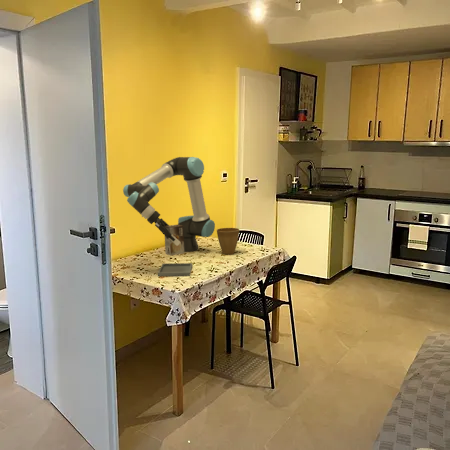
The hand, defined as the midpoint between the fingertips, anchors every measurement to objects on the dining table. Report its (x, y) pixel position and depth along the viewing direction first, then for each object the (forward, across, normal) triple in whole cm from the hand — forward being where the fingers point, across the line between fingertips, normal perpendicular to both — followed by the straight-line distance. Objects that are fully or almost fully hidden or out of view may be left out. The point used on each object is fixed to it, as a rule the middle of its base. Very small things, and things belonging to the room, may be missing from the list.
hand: (179, 242), depth 255 cm
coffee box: (+3, 0, -7) cm, 7 cm away
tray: (+10, 0, -14) cm, 17 cm away
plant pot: (+31, -42, +7) cm, 53 cm away
